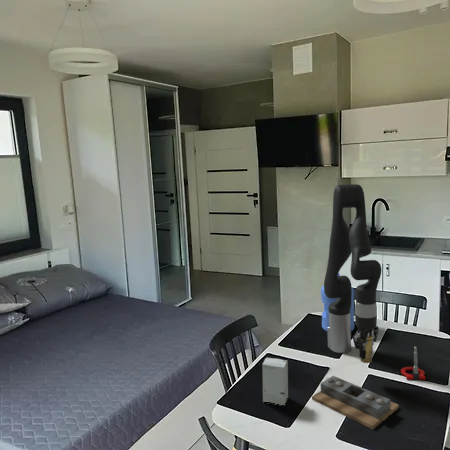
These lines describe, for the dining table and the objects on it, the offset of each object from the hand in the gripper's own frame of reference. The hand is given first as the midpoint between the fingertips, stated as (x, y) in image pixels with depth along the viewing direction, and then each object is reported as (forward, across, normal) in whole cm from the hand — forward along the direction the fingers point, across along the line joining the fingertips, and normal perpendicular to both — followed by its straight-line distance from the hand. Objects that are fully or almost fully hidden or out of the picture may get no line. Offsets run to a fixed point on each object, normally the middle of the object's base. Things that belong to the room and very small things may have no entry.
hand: (365, 355), depth 157 cm
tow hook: (+11, -17, +10) cm, 22 cm away
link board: (+10, +15, +5) cm, 19 cm away
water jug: (+12, -34, -38) cm, 52 cm away
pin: (+2, 0, 0) cm, 2 cm away
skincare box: (+11, +32, -16) cm, 38 cm away
